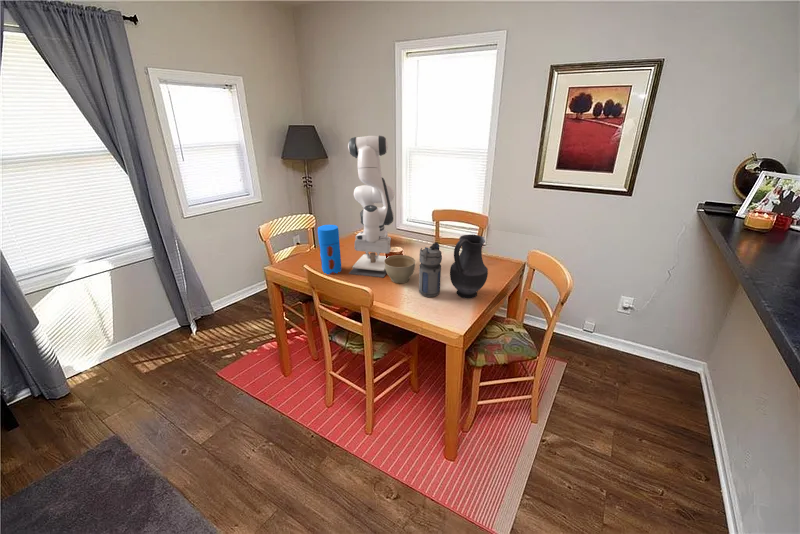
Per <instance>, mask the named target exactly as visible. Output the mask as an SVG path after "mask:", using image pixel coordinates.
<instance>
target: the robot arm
mask: <svg viewBox="0 0 800 534" xmlns="http://www.w3.org/2000/svg"><path fill="white" fill-rule="evenodd" d="M388 147H389V144H388V140H387V138H386V137H385V136H383V135H366V136H358V137H356V136H354V137H350V139H349V140H348V143H347V148H348V152H349V154H350V156H351V157H354V158H355V159H357V174H358V175H357V176H358V179H359V181H360V182H361V183H363V185H357V186H356V187H355V188H354V189H353V198H354V199H355V201H356V202H358V204H360V206H361V207H362V208H363V209H362V210H361V211H360V213H359V216H360V224H361V225H362V226H363V231H359V232H358V233H357V234H356V235H355V240H354V250H355V251H357V252H365V254H366V255H367V256H368V259H370V253H372V252H374V253H376V255H377V256H375V259H376V260H378V256H380V254H387V255H388V254H390V252H391V250H392V249H391V240H392V237H391V236H389V235H388V230H387V229H385V226H390V225H391V224H392V223H393V222H394V218H395V215H394V211H393V209H392V205H391V202H392V201H393V200H394V197H395V192H394V190H393V188H392V187H391V186H390V185H388V184H387V183H386V181H385V179H384V177H383V176H382V170H381V169H382V167H381V159H380V158H381V157H382V156H384V155H386V154H387V151H388ZM375 204H382V205H383V206H382V207H378V206H377V205H375Z"/></svg>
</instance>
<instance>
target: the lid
mask: <svg viewBox="0 0 800 534" xmlns="http://www.w3.org/2000/svg"><path fill="white" fill-rule="evenodd" d="M369 255H370V259H368V256H367V255H366V253H365V254H362V255H361V256H360V257H359V259H358V260H357V261H356V262H355V263H354V264H353V266H352V269H353V268H358V269H367V270H377V271H384V270H385V264H384V260H385V259H386V255H379V256H378V260H376V259H375V256H377V255H378V254H377V253H376V252H369Z"/></svg>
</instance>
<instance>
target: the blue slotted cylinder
mask: <svg viewBox="0 0 800 534" xmlns="http://www.w3.org/2000/svg"><path fill="white" fill-rule="evenodd" d="M317 237H318V238H317V239H318V246H319V247H318V248H319V255H320V265H321V271H323V272H324V273H323V272H322V273H323V274H325V273H326V274H325V275H335V273H336V274H339V273H340V272H342V257H341V256H342V255H341V247H340V246H341V245H340V234H339V226H338V225H336V224H323V225H321V226H318V227H317ZM338 272H339V273H338Z"/></svg>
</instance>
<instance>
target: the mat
mask: <svg viewBox="0 0 800 534" xmlns="http://www.w3.org/2000/svg"><path fill="white" fill-rule="evenodd" d="M348 275H355V276H363V277H364V276H365V277H373V278H379V279H384V278H385V276H386V275H388V274H387V272H386V269H385V270H384V271H377V270H367V269H358V268H352V269H351V270H350V271H349V272H348Z"/></svg>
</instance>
